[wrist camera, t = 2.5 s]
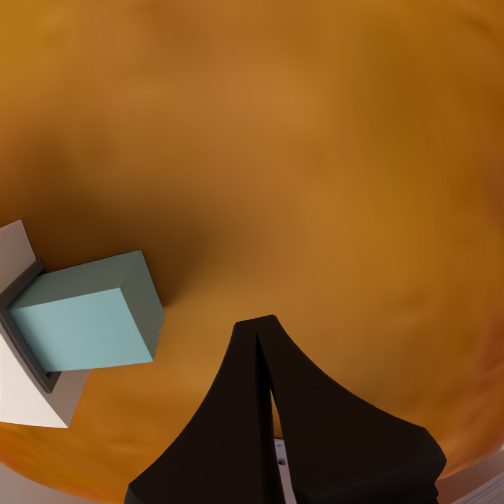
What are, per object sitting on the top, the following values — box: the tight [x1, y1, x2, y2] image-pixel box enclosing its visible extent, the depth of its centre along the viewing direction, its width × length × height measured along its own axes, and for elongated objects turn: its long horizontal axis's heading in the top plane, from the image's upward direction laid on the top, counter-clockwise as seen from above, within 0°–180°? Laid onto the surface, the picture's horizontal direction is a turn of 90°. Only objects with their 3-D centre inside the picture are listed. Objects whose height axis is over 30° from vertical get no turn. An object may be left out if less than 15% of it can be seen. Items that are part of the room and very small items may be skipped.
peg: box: [6, 250, 165, 372], centre depth 14 cm, size 8×4×4 cm, turn 101°
